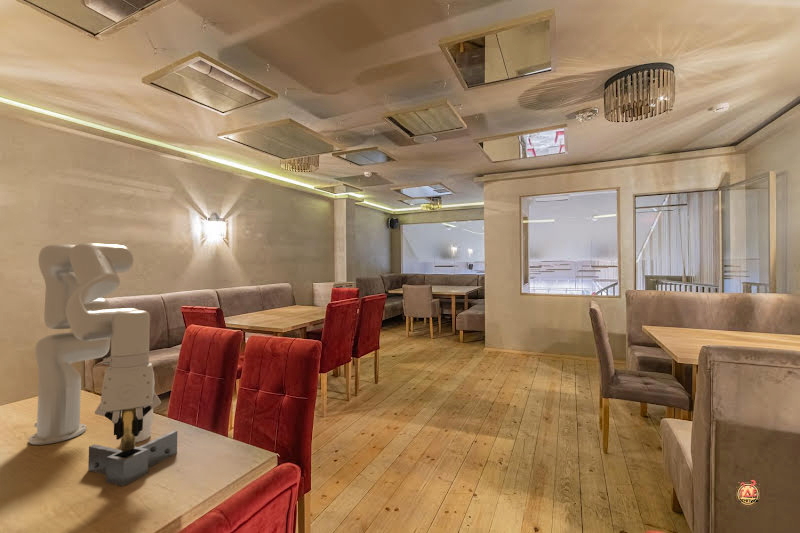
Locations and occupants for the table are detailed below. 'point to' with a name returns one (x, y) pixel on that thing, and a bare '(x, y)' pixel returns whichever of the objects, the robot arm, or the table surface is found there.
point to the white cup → (145, 427)
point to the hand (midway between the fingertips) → (128, 435)
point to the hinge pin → (128, 429)
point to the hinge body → (130, 459)
